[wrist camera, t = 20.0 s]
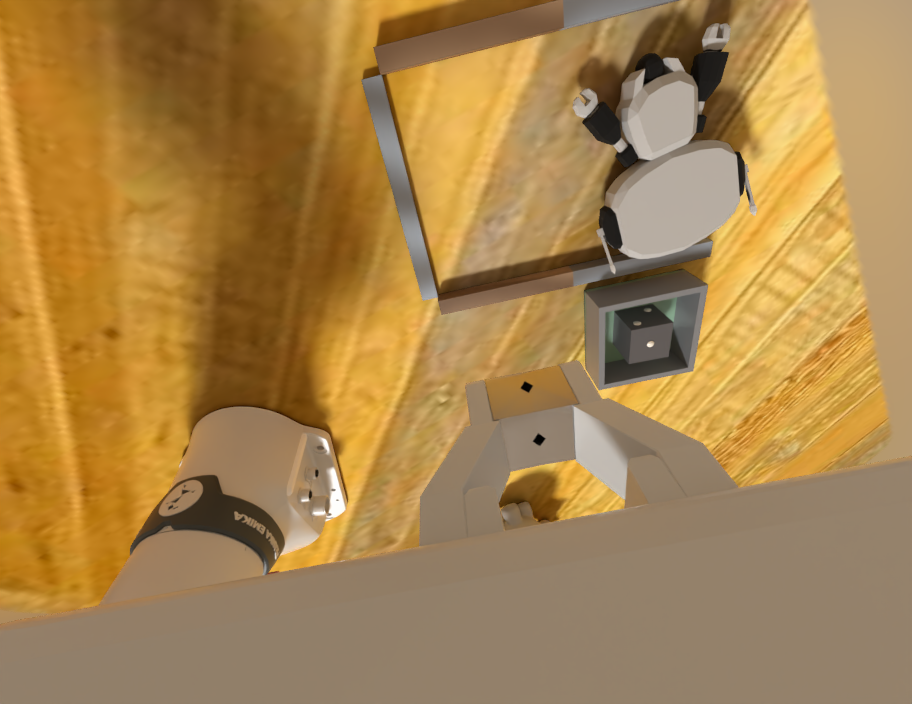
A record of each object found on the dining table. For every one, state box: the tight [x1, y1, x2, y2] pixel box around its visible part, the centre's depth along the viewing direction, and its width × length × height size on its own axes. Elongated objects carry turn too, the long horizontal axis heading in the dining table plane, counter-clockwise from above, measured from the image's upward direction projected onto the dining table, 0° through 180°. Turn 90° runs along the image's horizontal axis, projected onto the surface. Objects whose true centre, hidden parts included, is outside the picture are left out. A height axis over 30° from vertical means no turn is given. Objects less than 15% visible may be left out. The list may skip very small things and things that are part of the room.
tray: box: [584, 269, 708, 390], centre depth 40 cm, size 10×10×4 cm
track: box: [362, 0, 713, 315], centre depth 32 cm, size 21×28×2 cm
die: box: [613, 304, 674, 364], centre depth 39 cm, size 4×4×4 cm
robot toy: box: [573, 23, 757, 274], centre depth 31 cm, size 12×4×15 cm
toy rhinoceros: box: [501, 502, 550, 531], centre depth 56 cm, size 7×12×8 cm, turn 51°
